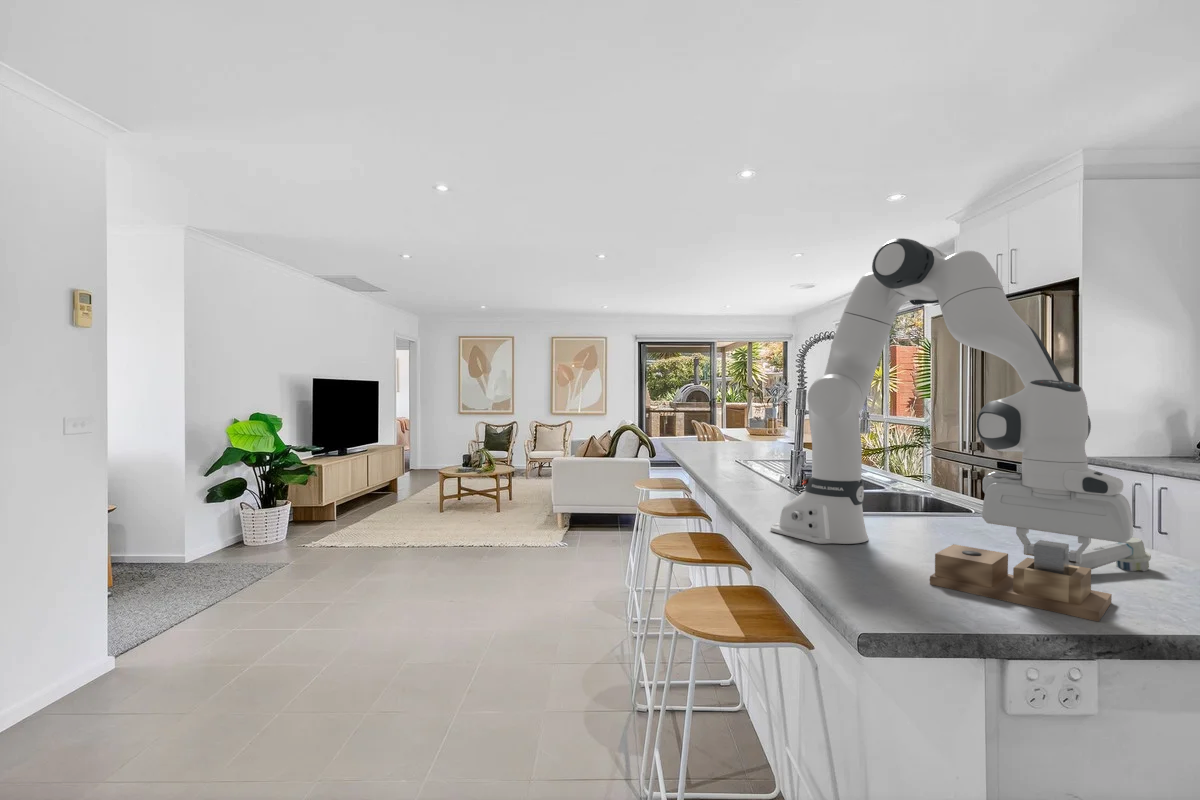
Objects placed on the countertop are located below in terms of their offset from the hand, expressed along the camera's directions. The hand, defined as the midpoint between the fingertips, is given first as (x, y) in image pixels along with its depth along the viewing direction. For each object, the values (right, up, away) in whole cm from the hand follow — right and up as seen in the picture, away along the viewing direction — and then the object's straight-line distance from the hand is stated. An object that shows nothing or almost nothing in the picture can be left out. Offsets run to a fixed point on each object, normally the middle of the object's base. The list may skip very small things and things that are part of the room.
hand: (1052, 558), depth 102 cm
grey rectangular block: (0, -6, 0) cm, 6 cm away
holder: (-3, -7, +4) cm, 9 cm away
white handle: (+21, -7, +16) cm, 27 cm away
